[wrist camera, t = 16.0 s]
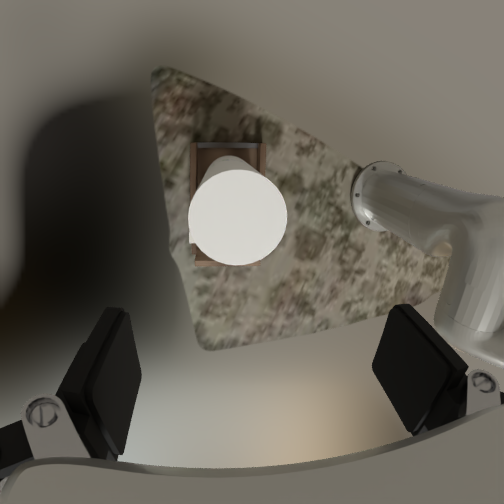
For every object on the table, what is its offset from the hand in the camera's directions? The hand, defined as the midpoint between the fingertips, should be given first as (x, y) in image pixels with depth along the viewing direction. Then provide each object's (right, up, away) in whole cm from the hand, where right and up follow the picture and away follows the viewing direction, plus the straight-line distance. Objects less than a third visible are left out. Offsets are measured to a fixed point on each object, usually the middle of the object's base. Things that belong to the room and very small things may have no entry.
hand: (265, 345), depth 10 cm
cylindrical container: (-4, +14, +35) cm, 38 cm away
